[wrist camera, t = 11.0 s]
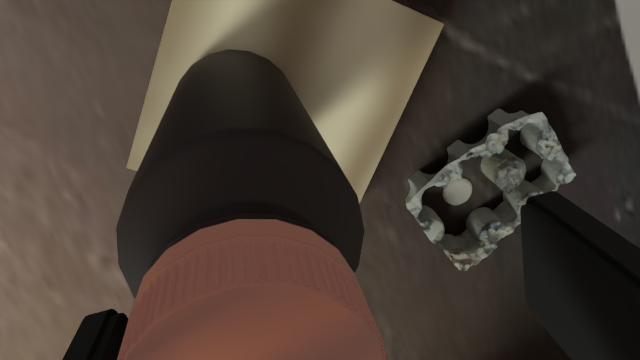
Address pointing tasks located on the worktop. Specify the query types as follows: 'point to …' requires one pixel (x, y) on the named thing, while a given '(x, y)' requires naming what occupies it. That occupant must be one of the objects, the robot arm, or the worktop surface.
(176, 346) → the vinegar
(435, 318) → the worktop surface
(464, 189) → the egg carton
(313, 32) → the maple base
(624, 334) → the robot arm
